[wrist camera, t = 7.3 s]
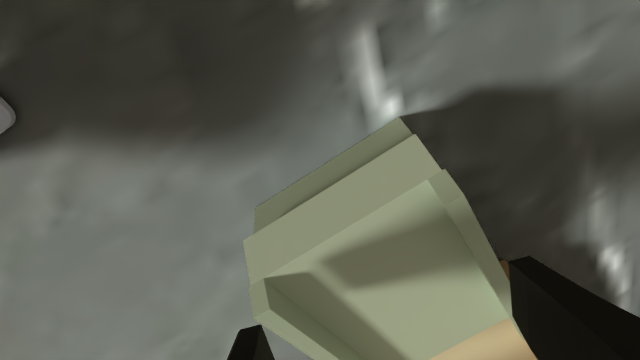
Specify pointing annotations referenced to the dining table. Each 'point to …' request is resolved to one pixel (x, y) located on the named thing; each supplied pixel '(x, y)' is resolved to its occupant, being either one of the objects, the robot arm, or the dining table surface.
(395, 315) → the ramp
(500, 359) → the lane
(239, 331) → the robot arm
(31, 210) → the dining table surface
